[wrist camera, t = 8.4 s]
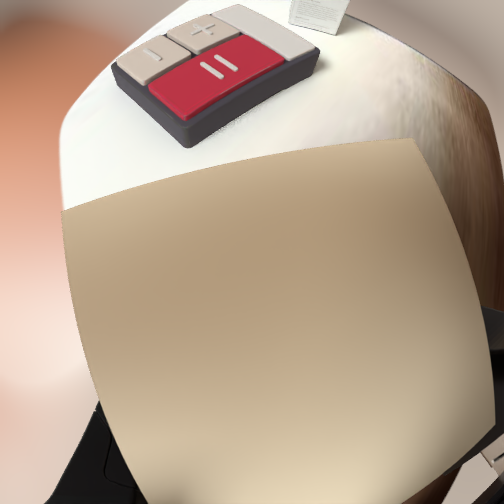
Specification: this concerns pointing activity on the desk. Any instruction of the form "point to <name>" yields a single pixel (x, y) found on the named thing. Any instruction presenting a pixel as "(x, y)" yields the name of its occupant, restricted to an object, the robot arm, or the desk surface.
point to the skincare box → (318, 14)
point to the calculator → (213, 70)
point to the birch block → (283, 328)
